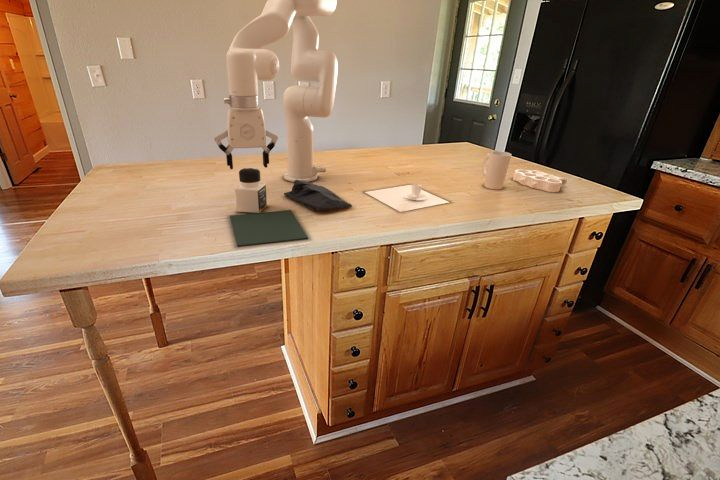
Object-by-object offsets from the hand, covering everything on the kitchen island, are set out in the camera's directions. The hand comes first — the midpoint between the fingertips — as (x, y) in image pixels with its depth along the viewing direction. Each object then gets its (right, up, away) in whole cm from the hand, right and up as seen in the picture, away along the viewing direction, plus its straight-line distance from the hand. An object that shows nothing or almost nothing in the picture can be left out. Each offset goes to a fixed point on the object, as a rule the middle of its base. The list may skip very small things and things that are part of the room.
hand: (248, 167), depth 112 cm
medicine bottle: (0, -11, +7) cm, 13 cm away
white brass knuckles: (+102, +2, +34) cm, 107 cm away
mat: (+6, -18, -4) cm, 19 cm away
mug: (+82, +1, +32) cm, 88 cm away
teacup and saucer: (+49, -5, +19) cm, 53 cm away
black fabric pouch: (+20, -8, +14) cm, 25 cm away
